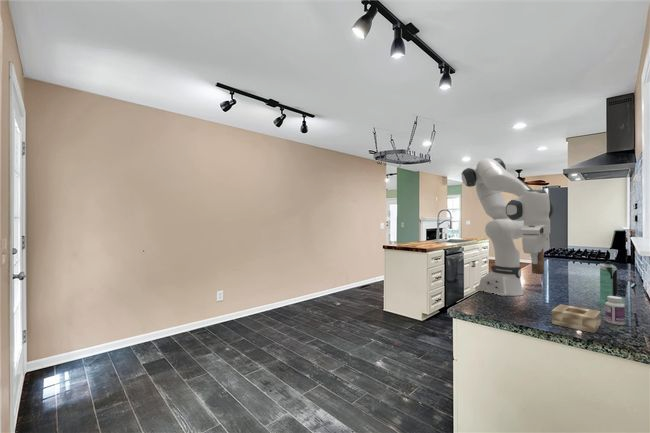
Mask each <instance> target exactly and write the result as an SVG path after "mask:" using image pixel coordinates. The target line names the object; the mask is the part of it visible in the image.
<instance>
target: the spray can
mask: <svg viewBox="0 0 650 433" xmlns="http://www.w3.org/2000/svg"><path fill="white" fill-rule="evenodd" d="M599 266H600V267H599V287H600V288H599V294H600V295H599V300H600V303H599V304H600V306H602V307H605V303H606V302H607V301H608V300H607V296H616V297H618V269H617V268H618V267H617V266H615V265H613V264H612V262H611V261H610V260H606V261H605V262H604V263H603V264H602V265H599Z"/></svg>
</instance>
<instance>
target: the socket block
mask: <svg viewBox="0 0 650 433" xmlns="http://www.w3.org/2000/svg"><path fill="white" fill-rule="evenodd" d="M601 312H602V311H600V310H595V309H590V308H584V307H578V306H574V305H573V306H572V305H568V304H562V303H560V304H559V305H558V306H556V307H554V308H553V309H551V325H557V326H560V327H561V326H562V327H566V328H570V329H574V330H579V331H582V332H583V331H584V332H589V333H592V334H595V333H596V332H597V330H598V329H599V328H600V327H601V324H602V319H601V318H602V315H601V314H602V313H601ZM599 326H600V327H599Z"/></svg>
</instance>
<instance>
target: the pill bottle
mask: <svg viewBox="0 0 650 433" xmlns="http://www.w3.org/2000/svg"><path fill="white" fill-rule="evenodd" d="M607 300H608V301H607V302H606V303H605V306H604V308H605V310H604V311H605V312H604V313H605V315H604V316H605V322H607V323H609V324H613V325H618V326H623V325H625V324H626V306H625V304H624V303H622V302H623V298H622V297H621V296H617V297H616V296H607Z"/></svg>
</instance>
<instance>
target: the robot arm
mask: <svg viewBox="0 0 650 433" xmlns="http://www.w3.org/2000/svg"><path fill="white" fill-rule="evenodd" d="M461 181H462V183H463V184H464V185H465V186H466V187H468V188H471V187H475V191H476V195H477V197H478V200H479V202H480V204H481V206H482V208H483V210H484V212H485V214H486V215H487V216H488V217H490V218H491V219H492V220H490V221H488V222H487V223H486V225H485V229H484V231H485V234H486V236H487V237H488V238H489V240H490V241H491V243H492V246H493V250H494V264H492V265H491V266H490V269H491V271H490V272H488V273H486V274H485V275H483V276H482V277H481V278H480V280H479V284H478V285H476V286H475V287H474V290H476V291H480V292H483V290H484V289H485V288H486V289H485V290H484V293H488V294H492V293H494V294H493V295H496V294H497V295H498V296H502V297H503V296H510V297H511V296H512V297H513V296H514V297H515V296H523V295H524V290H523V287H522V281H521V276H522V269H521V265H520V264H521V262H520V259H521V258H520V256H521V255H520V250H518V248H517V247H516V245H515V242H514V240H518V239H521V242H522V243H521V244H522V250H523V253H524V254H528V255H529V254H530V257H531V264H532V263H533V264H538V258H537V255H538V253H539V252H541V251H542V249H543V252H544V253H545V252H547V251H549V250H550V248H551V245H550V244H551V243H550V234H551V219H550V218H552V216H553V215H554V211H555V208H554V205H553V203H552V202H551V200H550V197H549V196H550V195H549V194H548V192H547V191H546V190H544V189H533V188H531V187H530V186H529V185H528V184H526V183H525V182H524V181H523V180H521V179H520V178H519V177H517V176H515V175H513V174H512V173H510V172H509V171H507V169H506V164H505V163H504V161H503V160H502V159H501V158H500V157H497V158H496V157H495V158H493V157H484V158H482V159H480V160H479V161H478V162H477V164H475V165H471V166H470V167H467V168H465V169H464V170H462V172H461ZM502 193H506V194H507V193H508V194H512V195H515V196H517V197H516V198H514V199H510V200H509V201H508V202H507V201H506V200H505V198H504V195H503V194H502ZM487 287H488V288H487Z"/></svg>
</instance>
